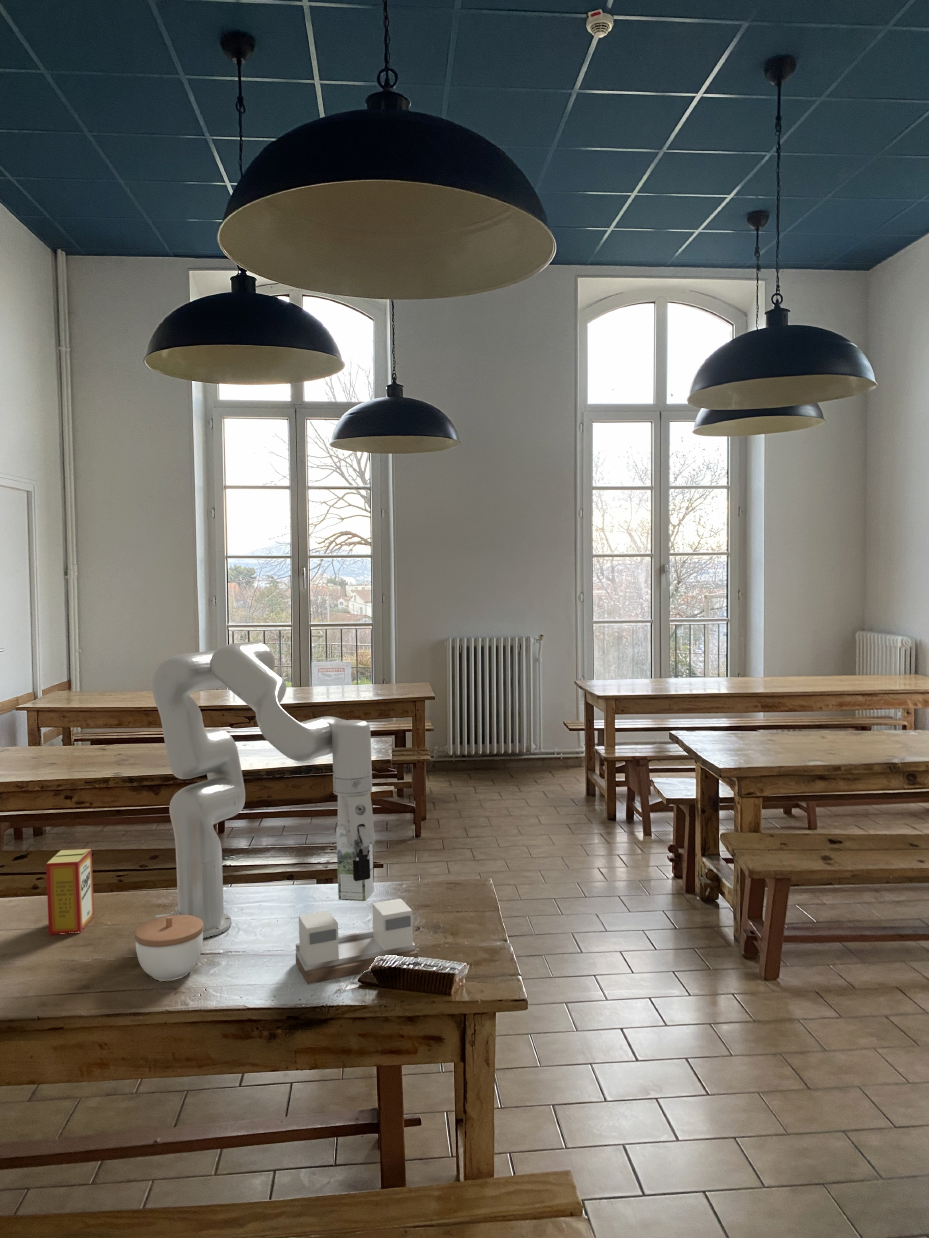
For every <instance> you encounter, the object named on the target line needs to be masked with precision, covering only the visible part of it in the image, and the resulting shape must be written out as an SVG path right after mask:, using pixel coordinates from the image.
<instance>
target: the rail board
mask: <svg viewBox="0 0 929 1238" xmlns="http://www.w3.org/2000/svg"><path fill="white" fill-rule="evenodd" d="M338 945H339V959H337V960H332V961H327V962H321V963H316V964H311V965H307V963H306V961H305V959H304V958H303V956H302V954H301V952H300V946H299V943H295V964H296V966H297V967H298V970H299V971H300V974H301V975H302V977H303V979H304V981H305V983H306V985H311V984H317V983H322V982H326V981H331V980H337V979H341V978H348V977H351V976H353V977H354V976H357V975H362V974H361V973H363V972H364V971H366V970H368V969H369V967H370V966H371V964H372V963H373V962H374V960H375V958H376V957H378V956H385V955H397V956H403V957H414V958H418V959H419V951H417V950H416V944H415V942H413V945H410V946H405V947H400V948H395V949H389V950H383V949H382V948H381V946H380V945H379V944H378V943H377V941H376V940H375V939H374V938H373V929H371V930H366V931H365V930H364V931H361V932H356V933H355V932H354V933H349V934H344V935H338ZM363 974H364V973H363Z"/></svg>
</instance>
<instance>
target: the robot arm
mask: <svg viewBox="0 0 929 1238" xmlns="http://www.w3.org/2000/svg"><path fill="white" fill-rule="evenodd" d="M275 663H276V660H275V655H274V654H273V652H272V650H271V648H269V647H268V645H266V644H264V643H262V642H259V641H244V642H236V643H229V644H225V645H223V646H221V647H219V648H218V649H214V650H206V651H195V652H186V653H181V654H177V655H176V654H175V655H173V656H171V657H168V658H166V659H164V660H163V661H162V662H160V663H159V665H158V666H157V667H156V669H155V671H154V673H153V676H152V682H151V690H152V696H153V699H154V702H155V704H156V708H157V710H158V714H159V718H160V722H161V726H162V734H163V740H164V745H165V750H166V756H167V761H168V765H169V768H170V771H171V773H172V775H173V776H175V778H178V779H181V780H188V779H189V780H190V779H193V778H197V777H200V776H205V775H206V776H207V780H203V781H200V782H196V783H192V784H189V785H187V786H185V787H183V788H181V789H180V790H178V791H177V792H175V794H174V795H173V796H172V797H171V799H170V801H169V811H168V812H169V817H170V821H171V825H172V830H173V836H174V844H175V845H174V846H175V861H176V883H177V884H176V886H177V887H176V888H177V889H176V890H177V893H176V894H177V906H174V908H175V910H174V911H171V912H170V913H166V914H164V913H163V914H162V913H161V914H156V915H155V919H156V918H159V917H164V916H170V915H190V916H195V917H198V918H199V919H201V920H202V921H203V939H207V938H211V937H210V936H212V937H214V936H213V935H215V936H218V935H220V934H223V933H224V932H226V931H228V930H229V929H230V928H231V927H232V917H231V916H230V915H228V914H226V913H224V911H225V910H224V909H225V908H224V907H225V906H224V883H223V882H224V881H223V878H224V877H223V851H222V849H223V848H222V842H221V840H220V838H219V836H218V834H217V832H216V830H215V828H214V825H216V824H218V823H220V822H223V821H225V820H227V819H230V818H233V817H235V816H237V815H238V814H239V813H240V812H241V811H242V810H243V809H244V807H245V802H246V789H245V783H244V777H243V772H242V771H243V770H242V767H241V760H240V754H239V751H238V746H237V744H236V742H235V740H234V738H233V737H232V735H231V734H230V733H229V732H227V731H226V730H224V729H221V728H216V727H215V728H209V729H205V725H204V721H203V715H202V711H201V709H200V707H199V705H198V703H197V702H196V701H195V700H194V698H193V697H191V694H194V693H196V692H204V691H210V690H215V689H223V688H227V689H228V690H229V691H231V692H232V693H233V694H234V695H235V696H236V697H238V699H240V700H242V702H244V703H245V704H246V705H247V706H248V707H250V708H251V709H252V711H254V712H255V718H256V723H257V725H258V728H259V730H260V732H261V735H262V736H263V738H264V739H265V741H267V742H268V743H269V744H270V745H272V746H273V748H274V749H276V750H277V751H278V752H279V753H281V755H284V756H285V757H286V758H288V759H290V760H292V761H295V762H301V763H302V762H308V761H311V760H315V759H316V758H320V757H324V756H327V755H332V782H333V784H332V785H333V786H332V787H333V794H334V795H336V796H337V826H338V825H339V824H341V825H342V826H343V827H344V828H345V833H346V839H347V843H348V845H350V846H351V847H353V853H354V859H355V860H353V879H354V881H360V880H366V879H370V854H369V852H370V850H369V846H370V844H372V845H373V844H374V843H375V826H374V813H373V806H372V800H371V799H372V798H371V793H372V792H373V771H372V770H373V769H372V764H373V763H372V740H371V739H372V737H371V735H372V733H371V727H370V724H369V723H368V722H367V721H365V720H360V719H348V720H346V719H343V718H339V717H336V716H330V715H329V716H328V715H327V716H320V717H316V718H311V719H308V720H304V721H298V720H296V719H295V718H294V717H292V716H291V715H290V714H289V713H288V712H287V711H286V710H285V709H283V707H282V706H281V705H280V704H281V702H282V701H283V699H284V697H285V696H286V692H287V684H286V681H285V680H284V679H283V678H282V677H281V676H279V675H278V674H277V673H276V672H275V671H274V669H275V666H276V664H275ZM357 835H359V838H360V841H361V843H356V844H355V841H356V840H358V838H357ZM360 847H361V849H359V852H358V851H357V848H360ZM229 927H230V928H229ZM228 928H229V929H228ZM222 932H223V933H222ZM206 937H207V938H206Z"/></svg>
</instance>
